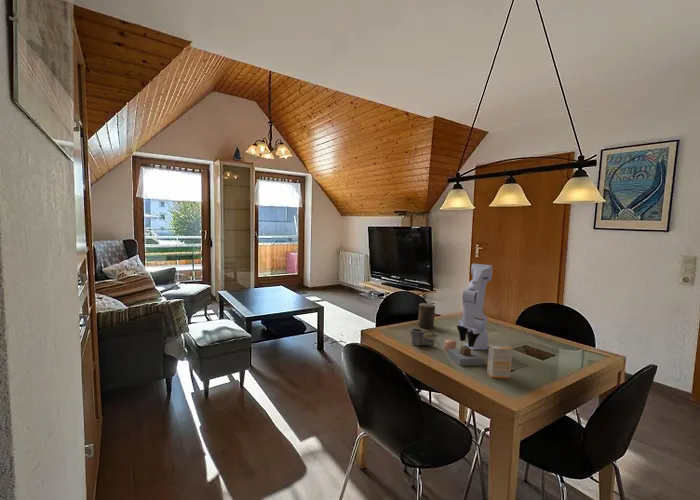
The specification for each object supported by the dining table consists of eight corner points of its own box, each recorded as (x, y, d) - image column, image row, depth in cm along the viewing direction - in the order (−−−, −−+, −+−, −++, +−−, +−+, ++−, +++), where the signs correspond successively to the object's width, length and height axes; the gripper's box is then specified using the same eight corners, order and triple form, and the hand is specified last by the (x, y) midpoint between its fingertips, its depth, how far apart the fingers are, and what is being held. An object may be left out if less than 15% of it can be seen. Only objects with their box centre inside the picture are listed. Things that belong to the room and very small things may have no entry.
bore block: (470, 354, 167) (470, 348, 167) (483, 365, 155) (484, 358, 155) (447, 355, 165) (448, 349, 164) (459, 365, 153) (460, 359, 153)
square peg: (466, 358, 162) (467, 346, 161) (470, 361, 158) (471, 349, 158) (459, 358, 161) (460, 346, 161) (463, 361, 158) (464, 349, 157)
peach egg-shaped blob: (452, 348, 175) (453, 338, 174) (457, 352, 169) (458, 342, 169) (442, 348, 174) (442, 339, 173) (447, 352, 168) (447, 342, 168)
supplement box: (504, 373, 147) (507, 344, 146) (510, 379, 142) (513, 348, 141) (486, 373, 146) (488, 343, 145) (491, 378, 142) (493, 348, 141)
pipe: (434, 349, 172) (435, 333, 171) (408, 345, 175) (409, 330, 174) (433, 344, 178) (434, 330, 177) (409, 341, 181) (410, 327, 180)
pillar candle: (428, 329, 203) (430, 305, 202) (414, 325, 210) (416, 302, 209) (436, 327, 210) (438, 303, 209) (422, 323, 217) (424, 300, 216)
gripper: (453, 311, 165) (451, 338, 166) (469, 320, 150) (466, 349, 151) (467, 311, 166) (464, 338, 167) (483, 320, 151) (481, 349, 153)
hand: (466, 343), depth 159 cm, fingers open, 7 cm apart
